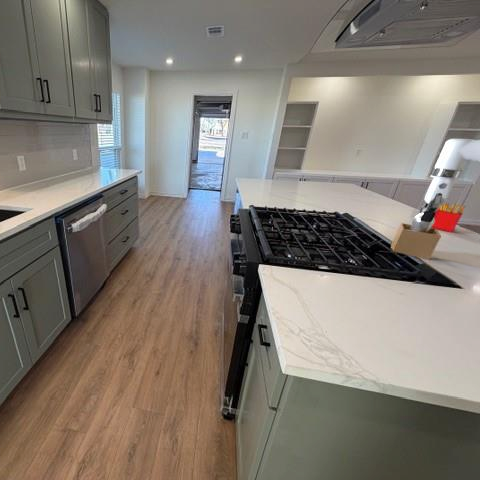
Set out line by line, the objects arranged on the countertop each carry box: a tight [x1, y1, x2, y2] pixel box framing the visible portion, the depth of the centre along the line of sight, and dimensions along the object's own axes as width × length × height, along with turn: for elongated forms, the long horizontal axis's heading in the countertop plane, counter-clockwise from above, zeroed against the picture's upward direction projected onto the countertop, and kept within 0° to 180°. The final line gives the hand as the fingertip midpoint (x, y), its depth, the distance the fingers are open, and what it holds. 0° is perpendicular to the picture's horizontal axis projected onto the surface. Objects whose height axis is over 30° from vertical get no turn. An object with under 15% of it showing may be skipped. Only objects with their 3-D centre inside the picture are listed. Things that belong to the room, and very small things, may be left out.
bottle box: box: [390, 222, 442, 260], centre depth 106 cm, size 11×10×12 cm
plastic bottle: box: [410, 206, 435, 233], centre depth 104 cm, size 6×7×20 cm
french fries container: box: [431, 202, 466, 233], centre depth 138 cm, size 7×9×14 cm
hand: (424, 218), depth 102 cm, fingers closed on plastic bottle, 6 cm apart
